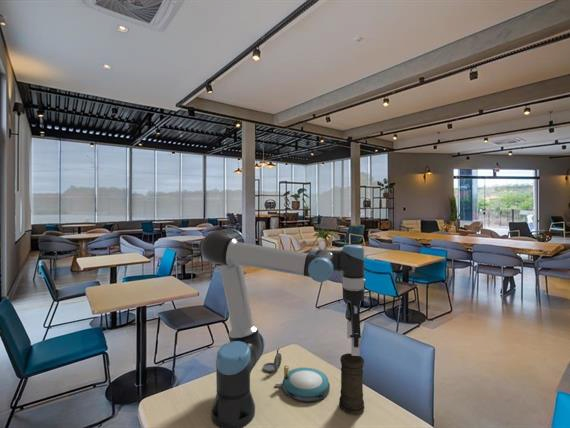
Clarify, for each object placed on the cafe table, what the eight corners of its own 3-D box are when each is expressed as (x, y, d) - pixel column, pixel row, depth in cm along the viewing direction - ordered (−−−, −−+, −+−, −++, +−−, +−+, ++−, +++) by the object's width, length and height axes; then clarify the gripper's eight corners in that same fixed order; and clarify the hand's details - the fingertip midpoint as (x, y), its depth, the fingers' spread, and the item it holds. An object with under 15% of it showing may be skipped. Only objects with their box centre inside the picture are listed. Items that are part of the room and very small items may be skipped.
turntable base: (272, 400, 116) (272, 396, 116) (278, 372, 135) (278, 369, 135) (330, 404, 114) (330, 400, 114) (328, 375, 133) (328, 372, 133)
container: (365, 416, 107) (365, 366, 107) (338, 413, 109) (339, 363, 108) (363, 400, 116) (364, 353, 116) (339, 397, 118) (340, 351, 117)
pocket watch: (262, 365, 141) (262, 344, 141) (280, 363, 142) (280, 342, 142) (264, 375, 133) (264, 352, 132) (283, 373, 134) (283, 351, 134)
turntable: (328, 372, 132) (328, 359, 131) (328, 399, 114) (328, 383, 114) (287, 369, 134) (287, 355, 134) (280, 394, 117) (280, 379, 116)
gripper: (370, 299, 98) (369, 364, 99) (358, 279, 123) (358, 332, 124) (346, 298, 99) (346, 363, 100) (339, 279, 124) (339, 331, 125)
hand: (353, 346), depth 112 cm, fingers open, 13 cm apart
